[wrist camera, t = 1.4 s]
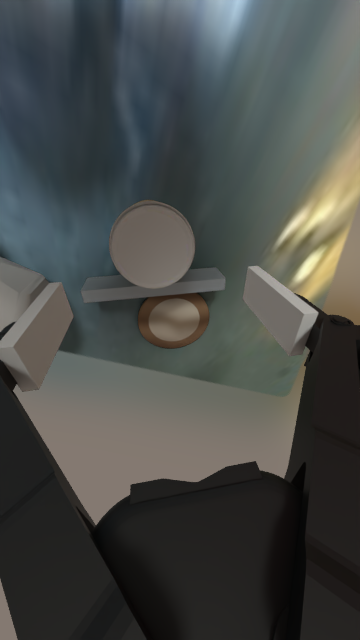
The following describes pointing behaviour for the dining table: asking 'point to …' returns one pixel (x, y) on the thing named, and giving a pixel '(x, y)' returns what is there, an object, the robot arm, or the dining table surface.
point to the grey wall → (124, 289)
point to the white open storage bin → (17, 290)
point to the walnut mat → (173, 319)
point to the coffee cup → (152, 244)
